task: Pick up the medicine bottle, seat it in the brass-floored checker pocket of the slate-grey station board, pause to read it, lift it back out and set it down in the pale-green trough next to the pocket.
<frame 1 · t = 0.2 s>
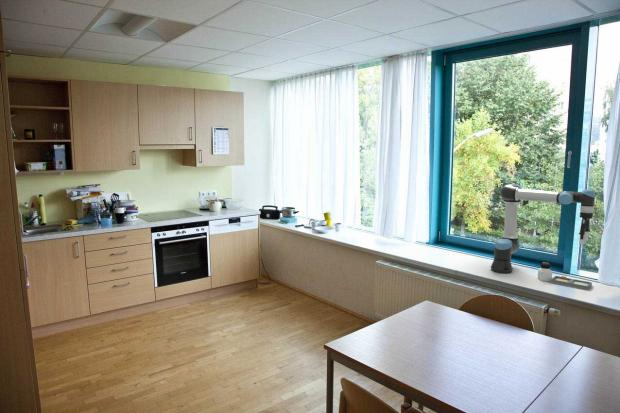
hand: (583, 242, 294), 27 cm above the table, fingers open, 13 cm apart
checker station: (570, 284, 289), on the table
medicine bottle: (544, 280, 299), on the table
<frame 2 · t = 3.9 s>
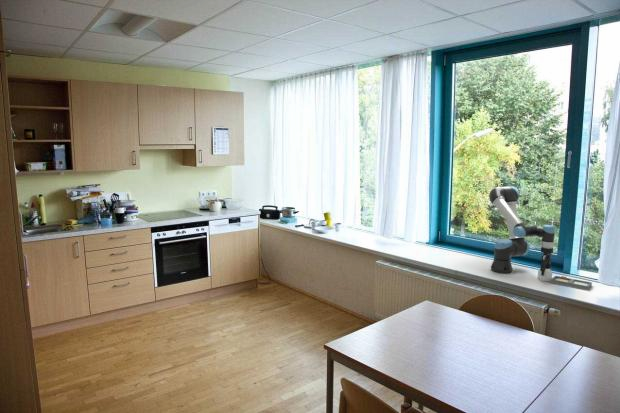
hand: (544, 278, 299), 1 cm above the table, fingers closed on medicine bottle, 9 cm apart
medicine bottle: (544, 279, 299), on the table, touching gripper
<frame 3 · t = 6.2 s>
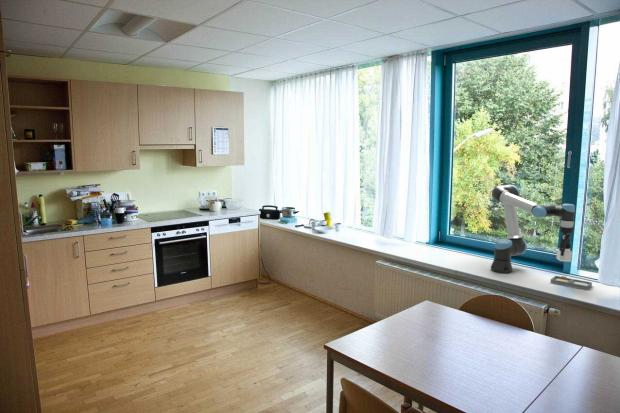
hand: (563, 258, 290), 17 cm above the table, fingers closed on medicine bottle, 9 cm apart
medicine bottle: (563, 260, 291), point 16 cm above the table, touching gripper
when the fingers open (4 cm above the table, at t = 8.6 s): medicine bottle stays where it is, resting on checker station.
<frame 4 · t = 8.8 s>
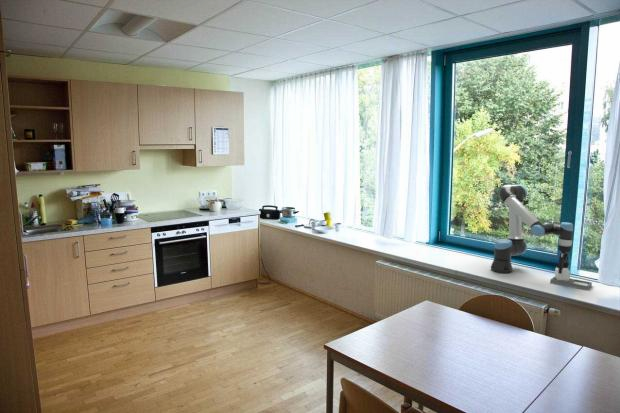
hand: (562, 275, 292), 5 cm above the table, fingers open, 12 cm apart
medicine bottle: (561, 279, 293), point 2 cm above the table, touching checker station
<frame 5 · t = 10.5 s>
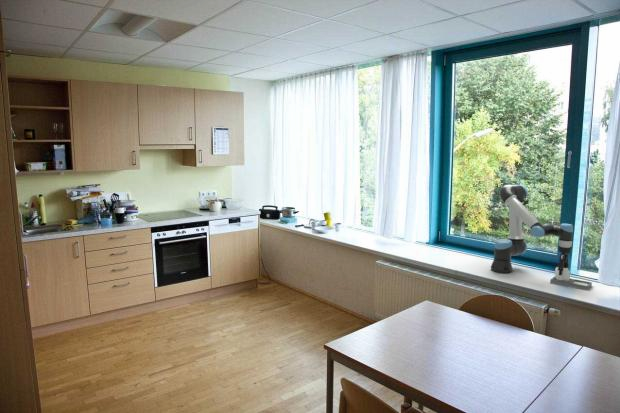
hand: (562, 277, 293), 3 cm above the table, fingers open, 10 cm apart
nothing on the table moved.
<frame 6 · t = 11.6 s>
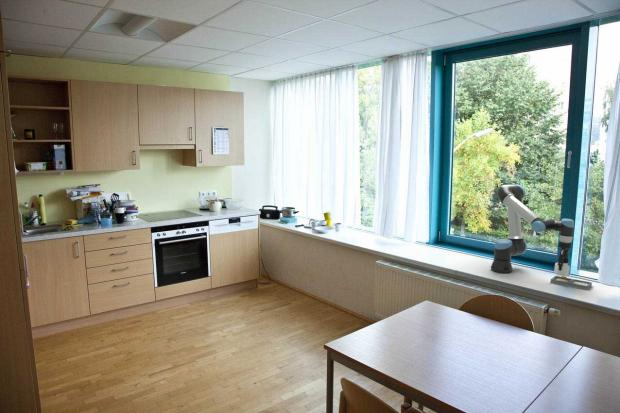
hand: (561, 273, 293), 7 cm above the table, fingers closed on medicine bottle, 10 cm apart
medicine bottle: (561, 274, 292), point 5 cm above the table, touching gripper
when the fingers open (4 cm above the table, at t = 15.4 s): medicine bottle stays where it is, resting on checker station.
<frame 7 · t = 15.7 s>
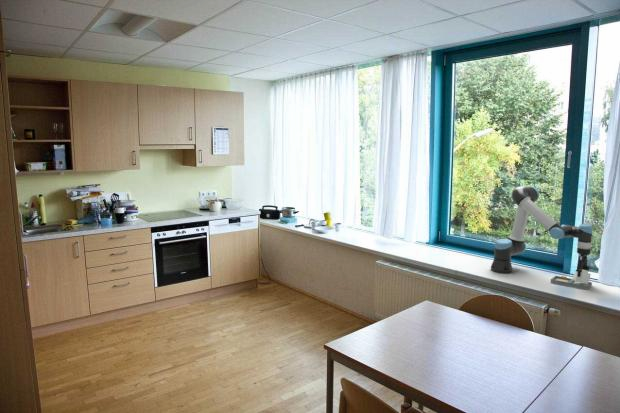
hand: (580, 278, 285), 5 cm above the table, fingers open, 13 cm apart
medicine bottle: (580, 282, 285), point 3 cm above the table, touching checker station
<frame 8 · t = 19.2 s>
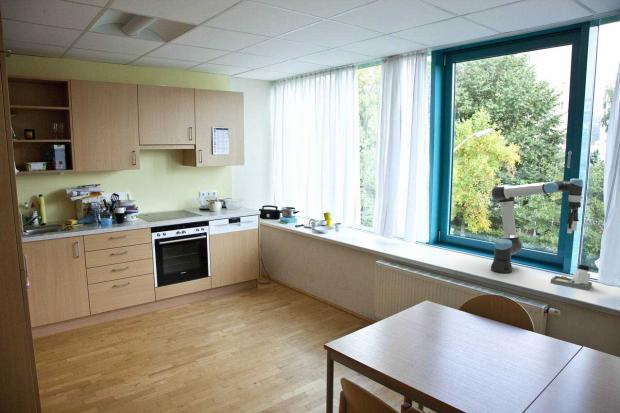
hand: (571, 231, 294), 35 cm above the table, fingers open, 13 cm apart
nothing on the table moved.
at the end: medicine bottle inside the target area on the checker station (0.5 cm from its centre), point 2.4 cm above the checker station's base; medicine bottle tilted 16°; the gripper is holding nothing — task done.
